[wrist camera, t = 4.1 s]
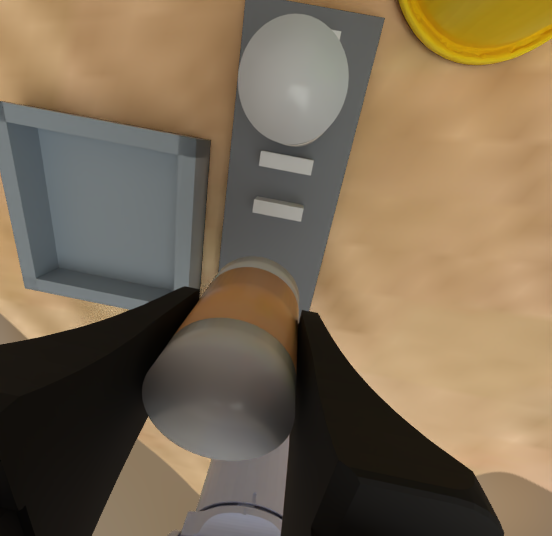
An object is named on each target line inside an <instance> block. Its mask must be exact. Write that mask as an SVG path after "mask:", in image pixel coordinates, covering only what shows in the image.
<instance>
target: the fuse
mask: <svg viewBox="0 0 552 536" xmlns="http://www.w3.org/2000/svg"><path fill="white" fill-rule="evenodd" d="M348 81H349V72H348V63H347V58H346V55H345V51H344V49H343V47H342V44H341V42H340V41H339V39H338V37H337V36H336V35H335V33H334V32H333V31H332V30H331V29H330V28H329V27H328V26H327V25H326V24H325V23H323V22H322V21H320V20H319V19H316V18H314V17H312V16H308V15H305V14H287V15H283V16H279V17H277V18H275V19H272V20H271V21H269V22H268V23H266V24H265V25H264V26H262V27H261V28H260V29H259V30H258V31H257V32H256V33H255V34H254V36H253V37H252V38H251V40H250V41H249V43H248V45H247V47H246V48H245V51H244V53H243V56H242V59H241V62H240V66H239V73H238V91H239V97H240V101H241V104H242V107H243V110H244V112H245V114H246V116H247V118H248V119H249V121H250V122H251V124H252V125H253V126H254V127H255V128H256V129H257V130H258V131H259V132H260V133H261V134H262V135H264V136H265V137H267V138H269V139H270V140H273V141H275V142H278V143H281V144H284V145H287V146H291V147H301V146H305V145H308V144H310V143H312V142H314V141H315V140H317V139H318V138H319V137H320V136H321V135H322V134H323V133H324V132H325V131H326V130H327V129H328V128H329V126H330V125H331V124H332V123H333V122H334V120H335V119H336V118H337V116H338V114H339V112H340V111H341V109H342V106H343V104H344V101H345V98H346V94H347V89H348Z"/></svg>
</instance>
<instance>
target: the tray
mask: <svg viewBox="0 0 552 536" xmlns="http://www.w3.org/2000/svg"><path fill="white" fill-rule="evenodd" d="M210 145H211V140H206V139H201V138H196V137H191V136H185V135H180V134H175V133H170V132H164V131H159V130H154V129H148V128H143V127H138V126H133V125H127V124H122V123H117V122H112V121H106V120H101V119H96V118H91V117H85V116H80V115H75V114H70V113H64V112H59V111H54V110H48V109H43V108H38V107H33V106H27V105H21V104H15V103H9V102H3V101H0V172H1V177H2V182H3V187H4V191H5V196H6V201H7V205H8V210H9V215H10V220H11V224H12V229H13V234H14V238H15V243H16V248H17V253H18V257H19V262H20V267H21V271H22V276H23V281H24V286H25V288H26V289H31V290H36V291H41V292H46V293H51V294H56V295H61V296H66V297H71V298H75V299H80V300H85V301H90V302H95V303H100V304H105V305H110V306H115V307H119V308H124V309H129V310H131V309H134V308H136V307H139V306H141V305H144V304H146V303H148V302H150V301H152V300H155V299H157V298H159V297H161V296H163V295H166V294H168V293H170V292H172V291H174V290H176V289H179V288H181V287H184V286H186V287H191V288H196V289H200V283H201V269H202V255H203V242H204V228H205V214H206V200H207V186H208V172H209V159H210ZM199 297H200V293H199Z"/></svg>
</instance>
